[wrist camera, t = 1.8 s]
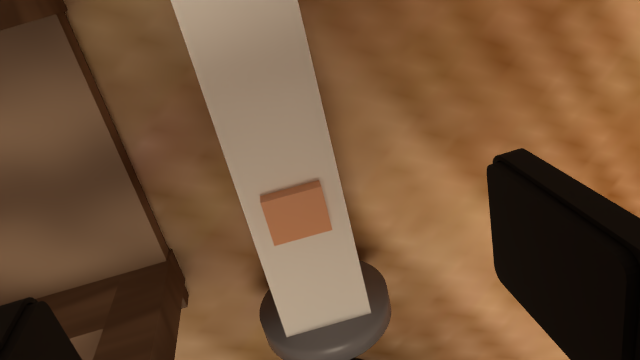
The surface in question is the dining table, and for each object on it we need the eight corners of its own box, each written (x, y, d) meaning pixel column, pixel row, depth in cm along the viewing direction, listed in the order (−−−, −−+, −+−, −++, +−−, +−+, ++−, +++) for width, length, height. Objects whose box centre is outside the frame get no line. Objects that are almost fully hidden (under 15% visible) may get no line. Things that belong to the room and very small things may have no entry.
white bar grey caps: (112, -135, 18) (52, -178, 12) (276, -175, 18) (293, -236, 13) (263, 293, 27) (269, 383, 21) (373, 263, 27) (408, 343, 22)
